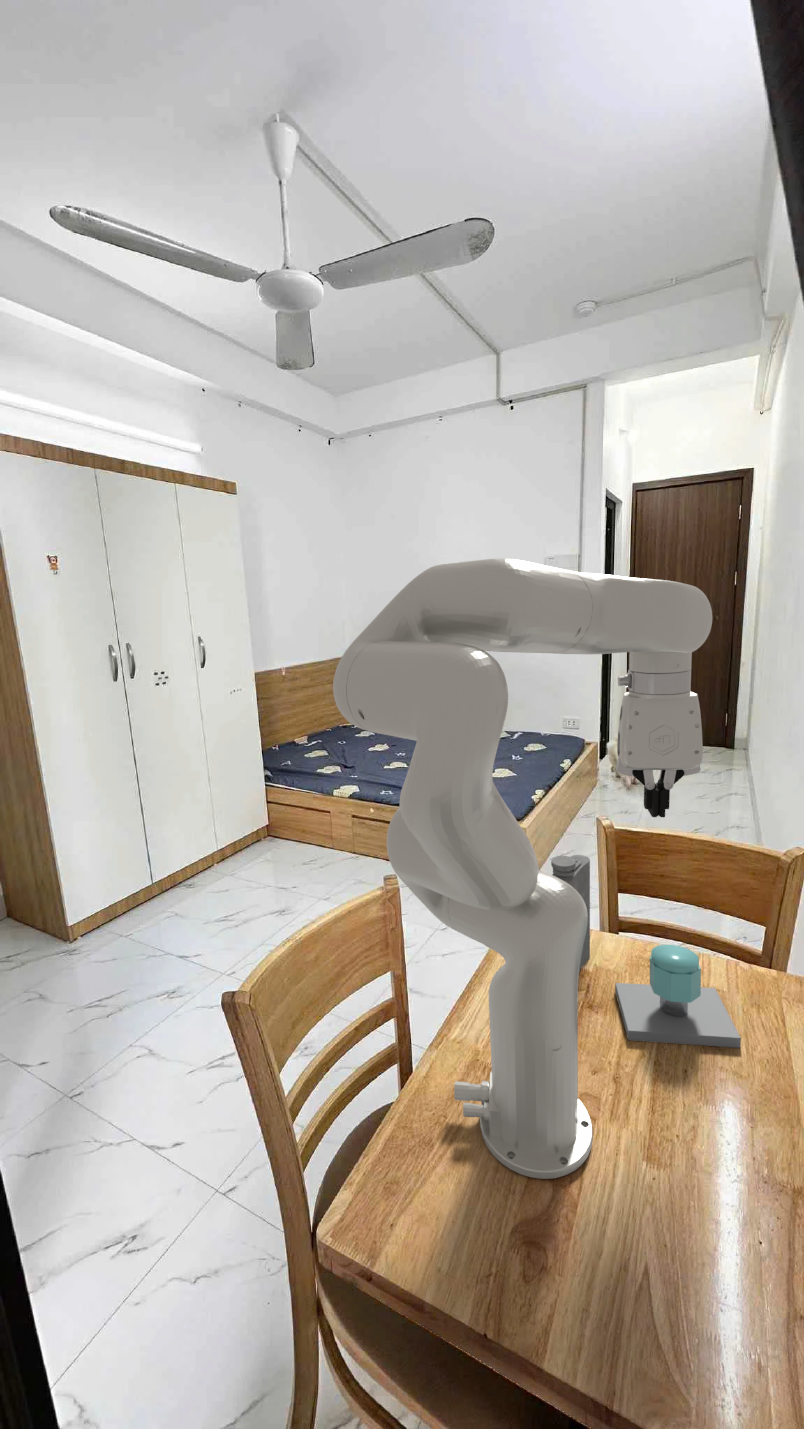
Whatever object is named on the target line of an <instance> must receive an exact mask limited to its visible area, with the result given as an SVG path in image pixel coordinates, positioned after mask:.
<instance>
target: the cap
mask: <svg viewBox="0 0 804 1429" xmlns="http://www.w3.org/2000/svg"><path fill="white" fill-rule="evenodd" d="M650 954H651V955H650V956H649V985H651V987H652V990H653V992H654V994H656V995H658V996H661V997H663V998H665V999H667V1000H669V1001H671V1002H687V1003H691V1002H692V1001H694V1000H695V999H697V998H698V997H699V996H701V985H702V984H701V983H702V981H701V979H702V978H701V977H702V975H701V974H702V973H701V972H702V971H701V965H700V962H699V961H700V958H699V956H698V955H697V954H696V952H694V951H693V950H691V949H690V948H689V949H688V948H686V947H683V946H680V945H677V944H676V945H675V944H660V945H657V946H654V947H653V948H652V949H651V951H650Z"/></svg>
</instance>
